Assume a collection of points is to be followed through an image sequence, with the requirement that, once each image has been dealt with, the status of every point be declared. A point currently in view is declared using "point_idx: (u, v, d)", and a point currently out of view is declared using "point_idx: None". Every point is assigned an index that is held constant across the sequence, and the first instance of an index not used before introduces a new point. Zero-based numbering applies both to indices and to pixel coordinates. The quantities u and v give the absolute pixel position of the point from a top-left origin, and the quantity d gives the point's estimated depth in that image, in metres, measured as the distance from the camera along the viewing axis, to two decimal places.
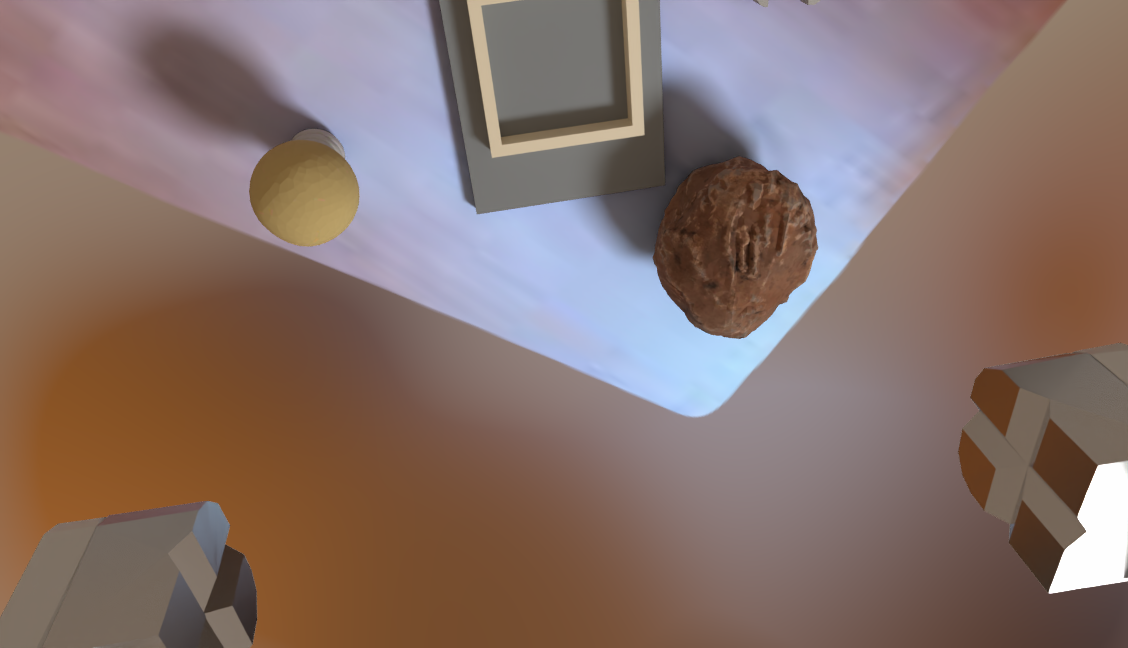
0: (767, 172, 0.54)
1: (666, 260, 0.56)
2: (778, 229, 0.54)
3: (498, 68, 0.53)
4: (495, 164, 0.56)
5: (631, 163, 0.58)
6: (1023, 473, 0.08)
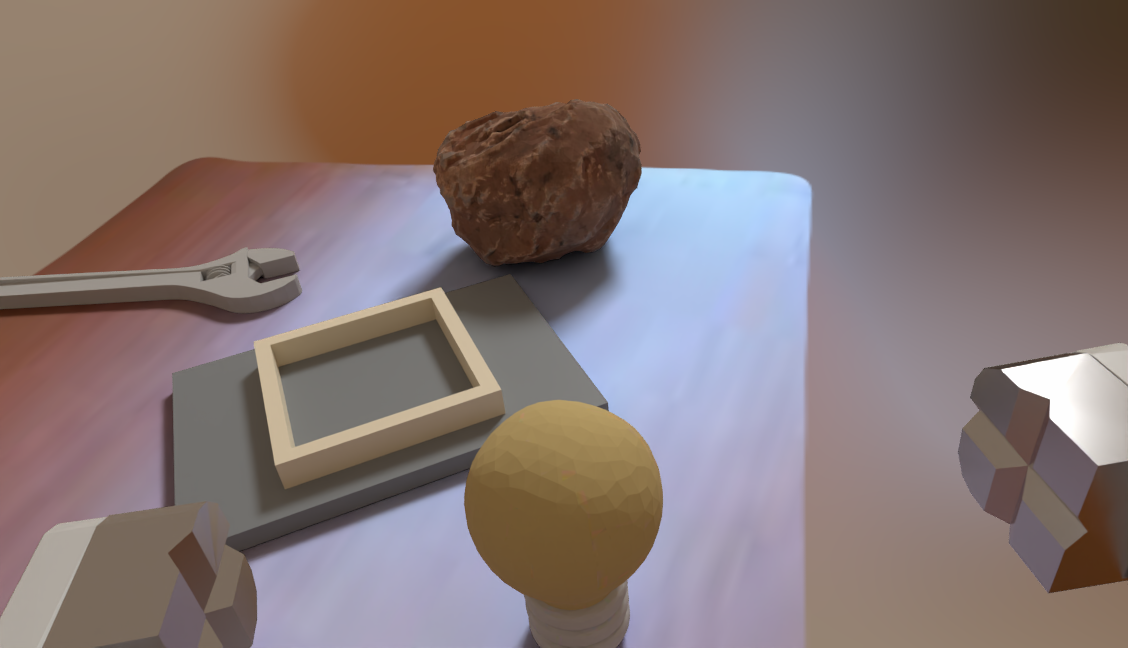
0: (435, 172, 0.51)
1: (557, 189, 0.46)
2: (477, 126, 0.50)
3: None
4: (525, 403, 0.39)
5: (490, 301, 0.47)
6: (1023, 473, 0.08)
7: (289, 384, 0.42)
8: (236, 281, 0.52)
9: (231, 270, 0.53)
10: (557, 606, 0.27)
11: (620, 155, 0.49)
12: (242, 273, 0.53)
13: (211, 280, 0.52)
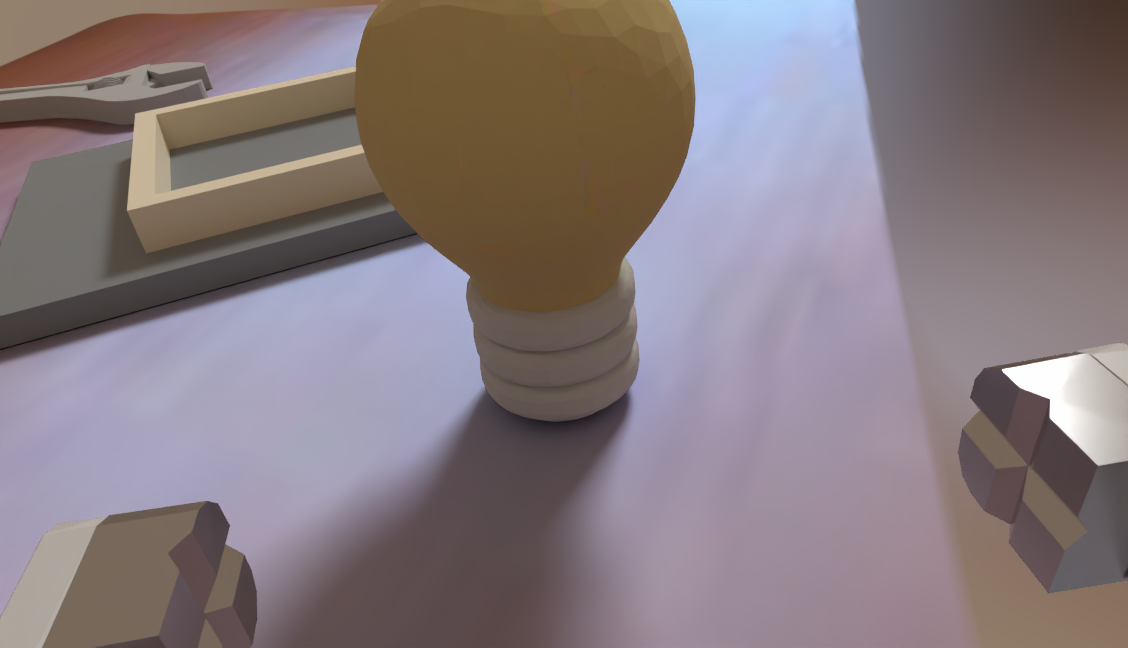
0: None
1: None
2: None
3: None
4: None
5: None
6: (1023, 473, 0.08)
7: (179, 162, 0.32)
8: (126, 88, 0.41)
9: (124, 82, 0.42)
10: (520, 306, 0.16)
11: None
12: (136, 82, 0.42)
13: (96, 90, 0.41)
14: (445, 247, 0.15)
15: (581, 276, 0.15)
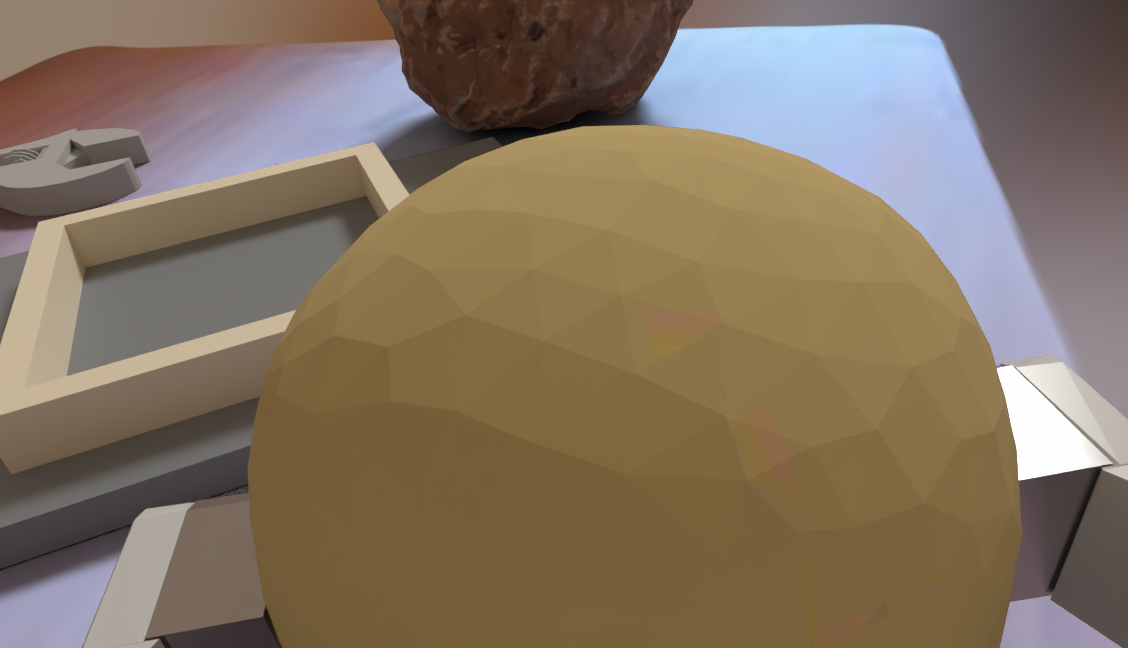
0: None
1: None
2: None
3: None
4: None
5: None
6: None
7: (93, 292, 0.24)
8: (35, 168, 0.33)
9: (38, 156, 0.34)
10: None
11: None
12: (50, 158, 0.34)
13: (0, 167, 0.33)
14: None
15: None
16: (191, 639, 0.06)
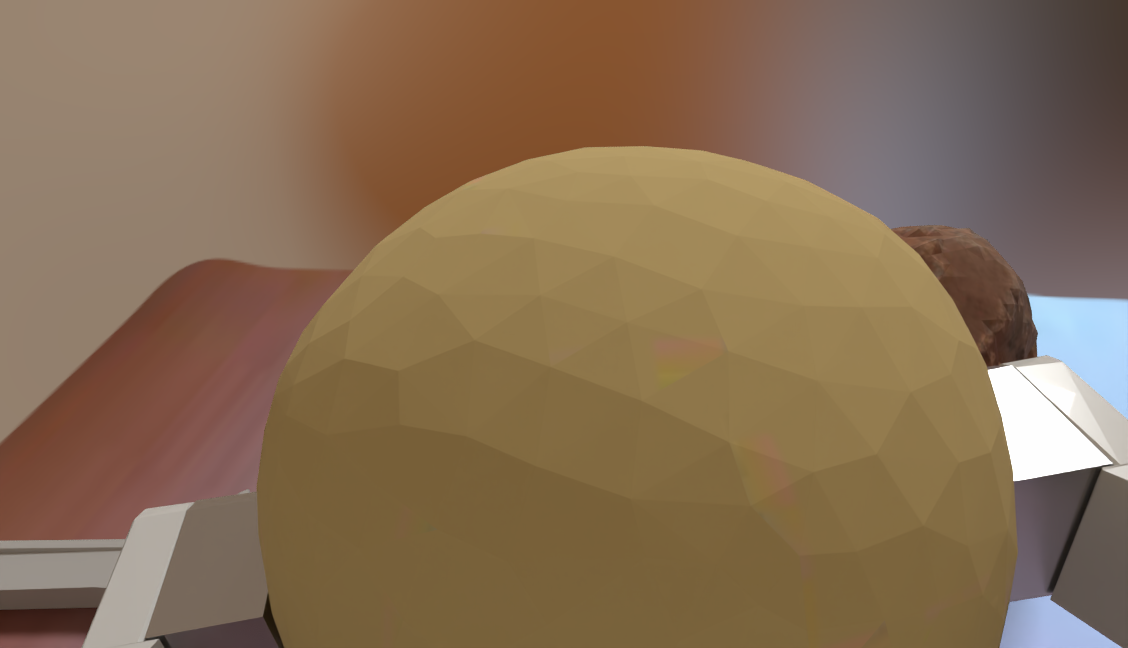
0: None
1: None
2: None
3: None
4: None
5: None
6: None
7: None
8: None
9: None
10: None
11: (1022, 335, 0.25)
12: None
13: None
14: None
15: None
16: (190, 639, 0.06)
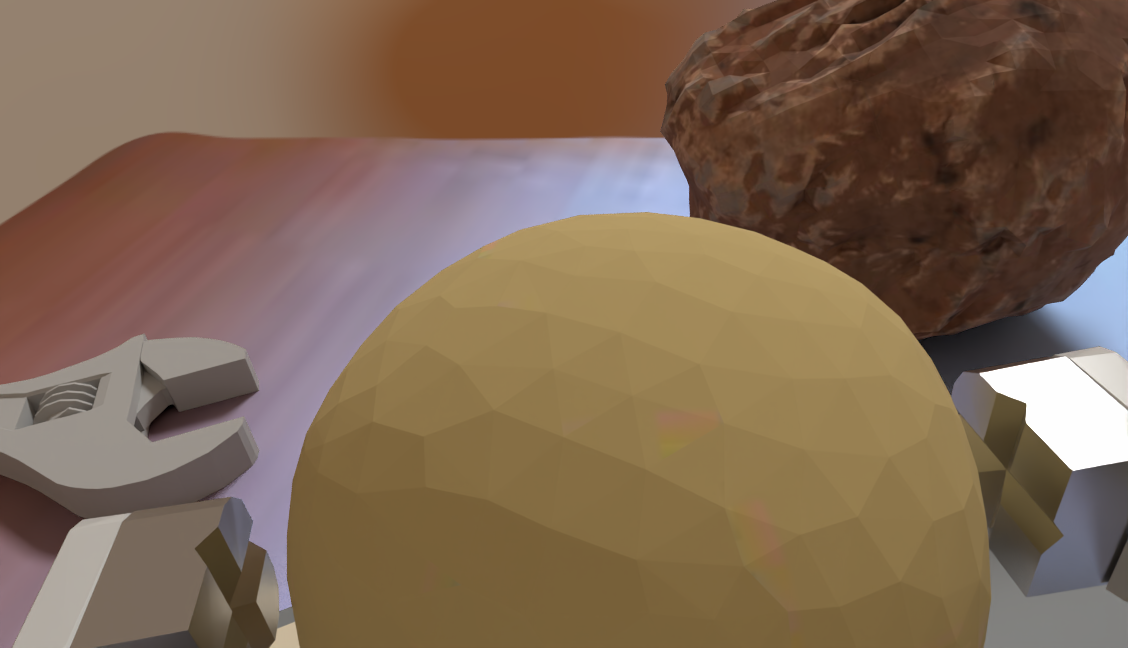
0: (672, 132, 0.21)
1: (1068, 164, 0.17)
2: (778, 18, 0.21)
3: None
4: None
5: None
6: (1001, 477, 0.08)
7: None
8: (97, 433, 0.21)
9: (95, 397, 0.23)
10: None
11: None
12: (117, 408, 0.22)
13: (40, 427, 0.22)
14: None
15: None
16: None
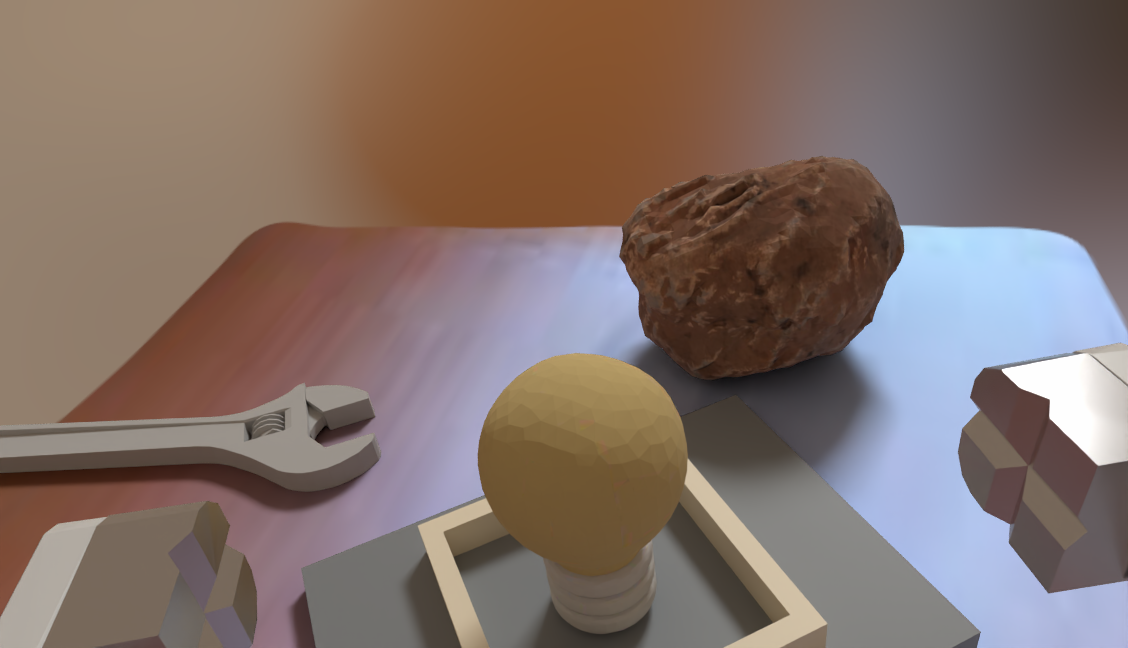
0: (625, 259, 0.38)
1: (817, 286, 0.33)
2: (681, 196, 0.37)
3: None
4: (849, 632, 0.26)
5: (725, 442, 0.34)
6: (1023, 473, 0.08)
7: (475, 590, 0.29)
8: (292, 442, 0.38)
9: (285, 422, 0.39)
10: (580, 572, 0.25)
11: (886, 231, 0.36)
12: (300, 428, 0.38)
13: (258, 440, 0.38)
14: (536, 553, 0.24)
15: (619, 561, 0.25)
16: None
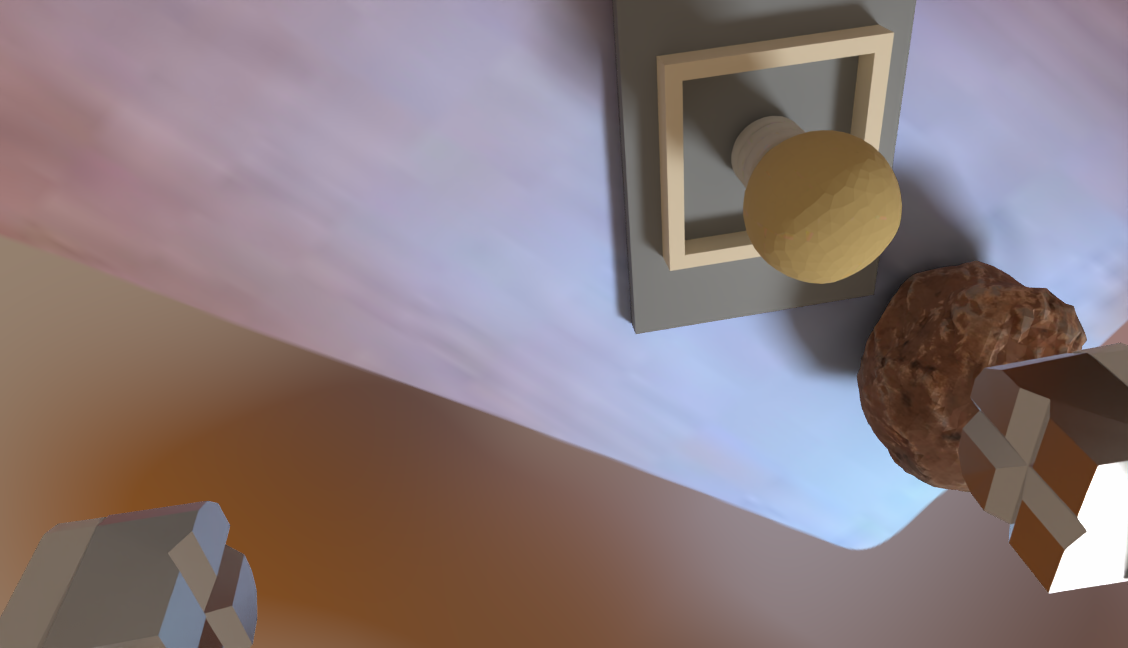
0: (1035, 291, 0.41)
1: (889, 399, 0.43)
2: None
3: (686, 157, 0.40)
4: (666, 274, 0.43)
5: None
6: (1023, 473, 0.08)
7: None
8: None
9: None
10: (765, 156, 0.36)
11: (907, 464, 0.46)
12: None
13: None
14: (777, 144, 0.34)
15: None
16: None
